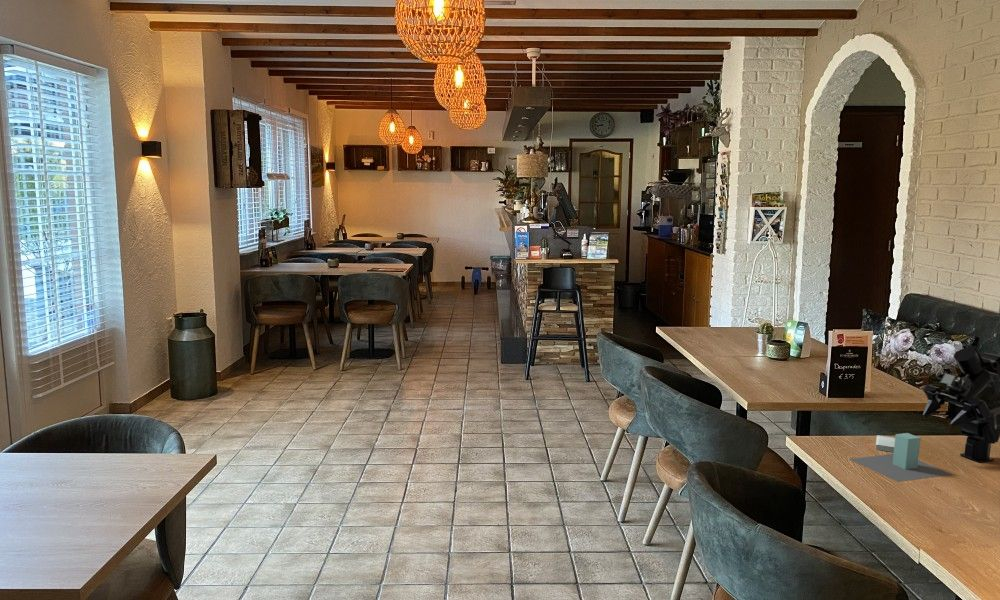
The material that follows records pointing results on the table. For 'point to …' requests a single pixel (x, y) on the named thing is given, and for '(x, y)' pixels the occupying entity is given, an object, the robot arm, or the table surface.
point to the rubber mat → (899, 468)
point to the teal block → (906, 451)
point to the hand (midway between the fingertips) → (936, 421)
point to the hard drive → (885, 443)
